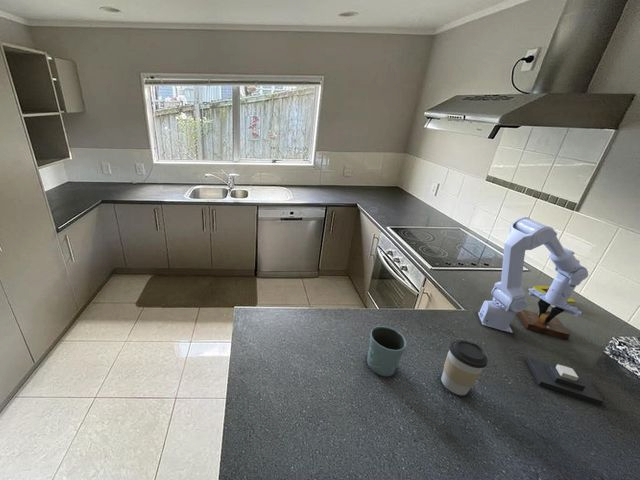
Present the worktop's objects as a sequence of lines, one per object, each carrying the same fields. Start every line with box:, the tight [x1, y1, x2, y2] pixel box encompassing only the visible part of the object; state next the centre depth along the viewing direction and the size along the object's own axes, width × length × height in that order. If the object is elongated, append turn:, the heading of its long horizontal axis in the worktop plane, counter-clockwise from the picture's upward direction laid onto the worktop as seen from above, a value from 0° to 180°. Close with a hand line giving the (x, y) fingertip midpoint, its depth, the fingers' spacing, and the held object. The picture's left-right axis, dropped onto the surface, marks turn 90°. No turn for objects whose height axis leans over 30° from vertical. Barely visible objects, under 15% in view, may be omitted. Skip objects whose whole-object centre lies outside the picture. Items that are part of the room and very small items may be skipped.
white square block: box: [555, 363, 579, 381], centre depth 86 cm, size 4×4×2 cm
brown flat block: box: [517, 309, 571, 340], centre depth 111 cm, size 12×10×3 cm
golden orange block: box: [538, 310, 551, 324], centre depth 109 cm, size 5×2×4 cm, turn 113°
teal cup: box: [366, 325, 407, 377], centre depth 89 cm, size 10×10×12 cm
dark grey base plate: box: [526, 357, 604, 406], centre depth 87 cm, size 14×10×4 cm
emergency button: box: [527, 285, 579, 310], centre depth 126 cm, size 9×4×15 cm
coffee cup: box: [440, 339, 489, 396], centre depth 83 cm, size 9×9×15 cm
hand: (544, 319), depth 110 cm, fingers closed on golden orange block, 2 cm apart
